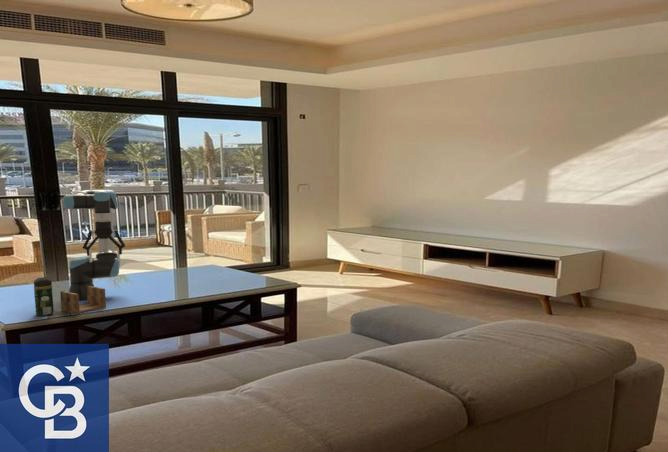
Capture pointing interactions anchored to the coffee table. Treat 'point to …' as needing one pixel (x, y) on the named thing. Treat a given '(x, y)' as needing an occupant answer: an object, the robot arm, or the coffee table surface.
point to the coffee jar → (43, 296)
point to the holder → (94, 303)
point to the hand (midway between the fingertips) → (105, 261)
